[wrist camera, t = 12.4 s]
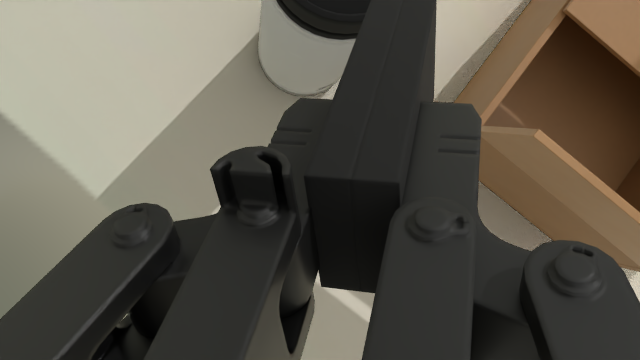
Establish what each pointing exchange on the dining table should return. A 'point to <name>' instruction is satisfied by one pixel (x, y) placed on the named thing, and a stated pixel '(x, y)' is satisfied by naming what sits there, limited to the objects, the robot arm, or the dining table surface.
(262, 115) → the dining table surface
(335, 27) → the travel mug
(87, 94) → the dining table surface
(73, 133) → the dining table surface
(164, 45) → the dining table surface
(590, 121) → the carton
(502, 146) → the flap
